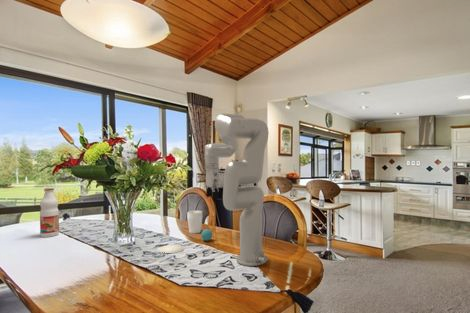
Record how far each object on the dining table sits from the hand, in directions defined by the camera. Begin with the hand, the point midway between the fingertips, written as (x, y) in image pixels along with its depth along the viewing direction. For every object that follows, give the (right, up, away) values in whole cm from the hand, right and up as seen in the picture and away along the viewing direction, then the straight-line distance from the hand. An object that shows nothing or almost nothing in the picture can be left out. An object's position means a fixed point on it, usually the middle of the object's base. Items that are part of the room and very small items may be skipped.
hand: (212, 197), depth 158 cm
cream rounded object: (-19, -22, -19) cm, 35 cm away
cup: (-11, -23, +13) cm, 28 cm away
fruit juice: (-97, -24, +12) cm, 101 cm away
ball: (-2, -19, -6) cm, 20 cm away
